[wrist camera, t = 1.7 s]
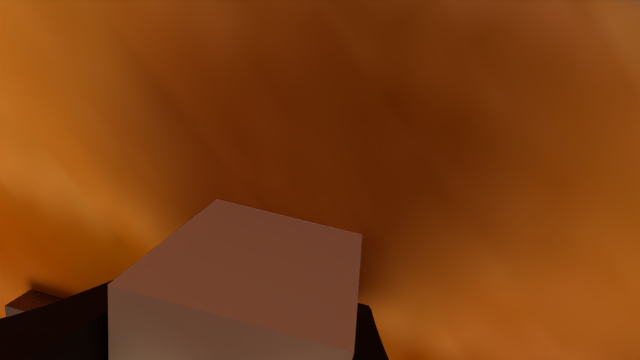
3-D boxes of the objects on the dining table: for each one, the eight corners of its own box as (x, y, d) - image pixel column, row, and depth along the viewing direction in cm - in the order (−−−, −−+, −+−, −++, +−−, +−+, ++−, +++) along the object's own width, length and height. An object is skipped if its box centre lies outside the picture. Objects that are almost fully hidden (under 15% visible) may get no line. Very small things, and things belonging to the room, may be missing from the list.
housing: (362, 233, 11) (352, 379, 6) (331, 351, 13) (301, 551, 7) (217, 198, 11) (83, 303, 6) (205, 316, 13) (90, 481, 8)
